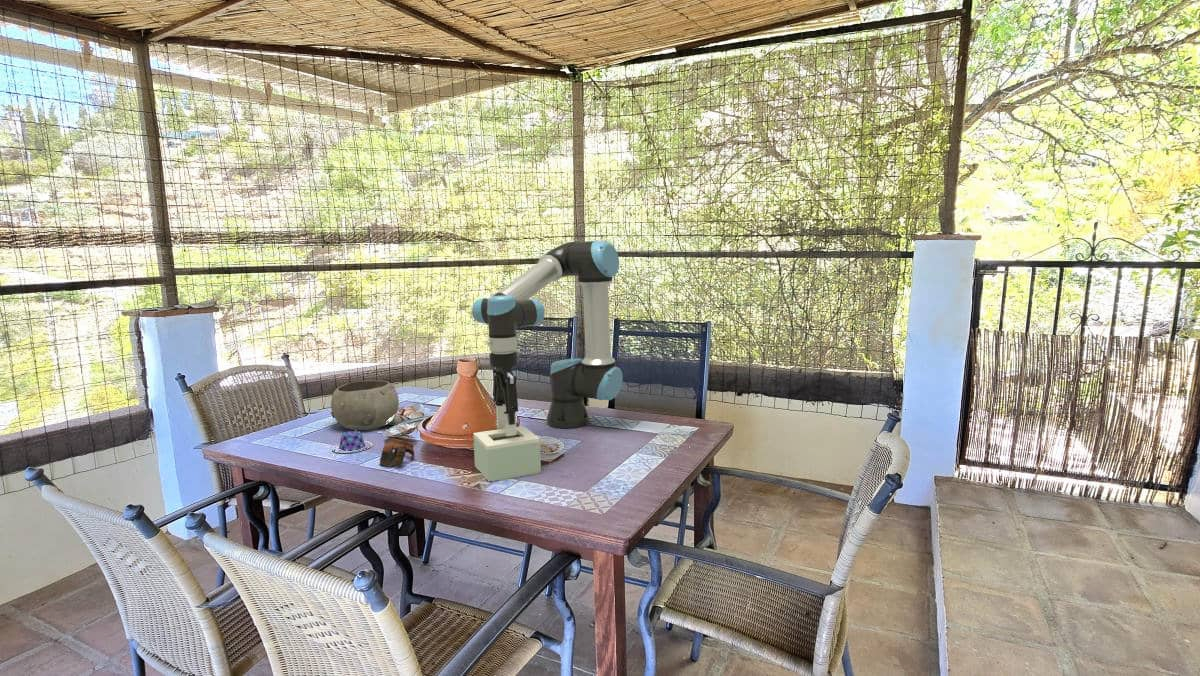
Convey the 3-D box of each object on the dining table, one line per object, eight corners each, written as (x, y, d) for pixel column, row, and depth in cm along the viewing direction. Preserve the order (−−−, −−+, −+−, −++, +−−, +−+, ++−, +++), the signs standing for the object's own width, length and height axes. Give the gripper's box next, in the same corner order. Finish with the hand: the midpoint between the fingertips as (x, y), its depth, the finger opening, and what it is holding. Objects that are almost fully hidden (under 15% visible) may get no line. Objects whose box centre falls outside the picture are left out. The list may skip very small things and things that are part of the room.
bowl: (344, 417, 232) (341, 379, 229) (406, 415, 234) (403, 377, 232) (323, 435, 209) (320, 392, 207) (392, 432, 211) (389, 390, 209)
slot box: (524, 458, 183) (523, 425, 182) (540, 472, 171) (539, 438, 169) (474, 466, 177) (473, 433, 175) (488, 482, 164) (487, 446, 163)
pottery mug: (373, 463, 182) (383, 436, 184) (404, 472, 186) (413, 446, 188) (383, 464, 172) (393, 436, 174) (415, 473, 176) (424, 446, 178)
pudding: (329, 456, 188) (327, 440, 187) (335, 444, 199) (334, 429, 199) (370, 452, 191) (369, 436, 190) (374, 441, 202) (373, 426, 202)
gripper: (479, 347, 176) (483, 424, 180) (501, 358, 158) (504, 443, 162) (504, 345, 180) (508, 420, 183) (528, 355, 162) (531, 439, 165)
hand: (506, 431), depth 172 cm, fingers open, 7 cm apart
